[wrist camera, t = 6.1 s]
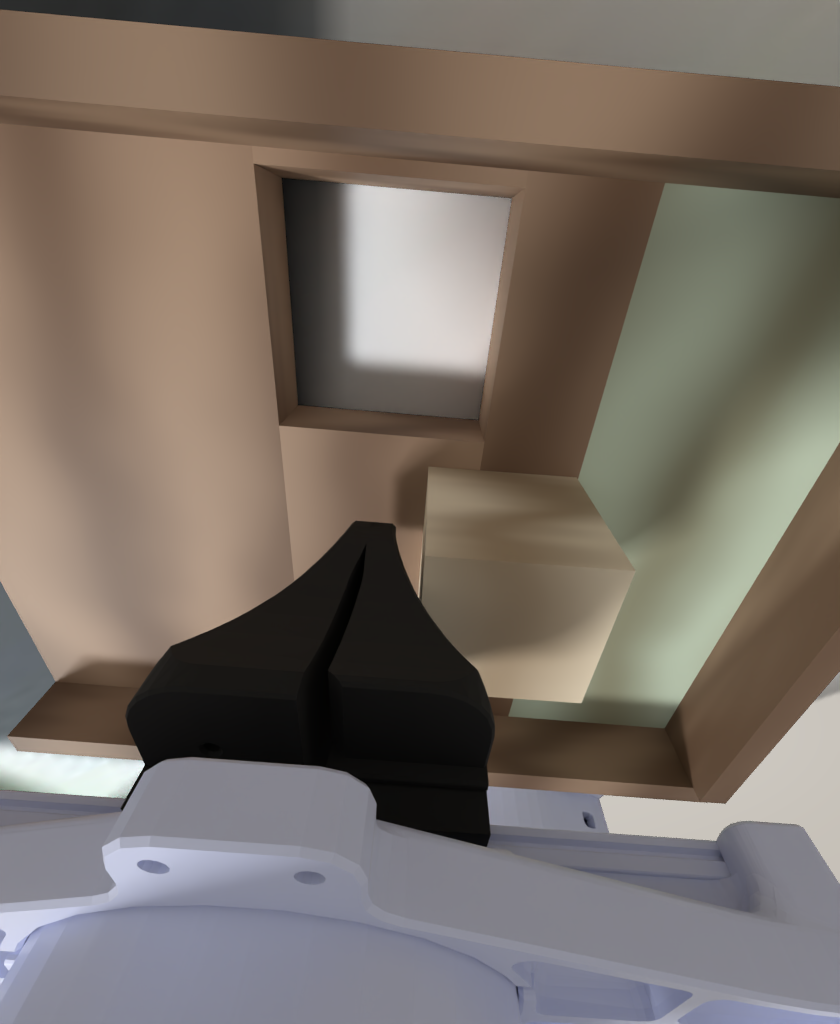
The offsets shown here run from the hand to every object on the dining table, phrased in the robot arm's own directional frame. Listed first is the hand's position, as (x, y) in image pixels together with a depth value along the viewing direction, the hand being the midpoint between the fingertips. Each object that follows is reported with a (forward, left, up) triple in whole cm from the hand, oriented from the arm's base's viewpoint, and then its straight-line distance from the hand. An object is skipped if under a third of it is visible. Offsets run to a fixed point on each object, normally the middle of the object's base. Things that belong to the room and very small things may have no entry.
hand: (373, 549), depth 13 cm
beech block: (-4, -1, -1) cm, 4 cm away
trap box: (0, 0, -3) cm, 3 cm away
